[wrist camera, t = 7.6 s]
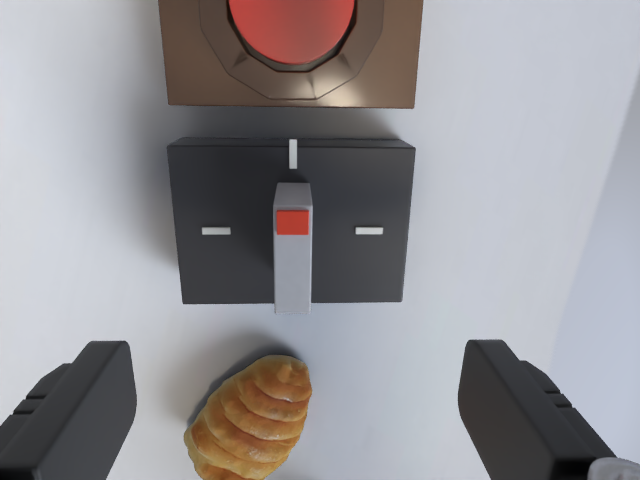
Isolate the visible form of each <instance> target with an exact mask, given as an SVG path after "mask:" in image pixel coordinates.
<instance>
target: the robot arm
mask: <svg viewBox="0 0 640 480" xmlns="http://www.w3.org/2000/svg"><path fill="white" fill-rule="evenodd" d="M136 405H137V395H136V388H135V381H134V374H133V367H132V359H131V352H130V347H129V344H128V343H127V342H126V341H91V342H89V343H88V344H87V345H86V346H85V348H84V349H83V350H82V351H81V353H80V354H79V355H78V356H77V358H76V359H75V360H74V361H73V363H68V364H62V365H61V366H59V367H58V368H56V369H55V370H53V371H52V372H50V373H49V374H47V375H46V376H44V377H43V378H41V379H40V381H39V382H38V383H37V384H36V385H35V386H34V388H33V389H32V390H31V391H30V392H29V393H28V395H27V396H26V400H22V402H21V403H20V404H19V405H18V406H17V407H16V408H15V410H14V412H13V415H9V417H8V418H7V419H6V420H5V421H4V422H3V424H2V425H1V426H0V480H106V478H107V476H108V474H109V472H110V470H111V468H112V466H113V463H114V461H115V459H116V457H117V455H118V453H119V451H120V449H121V447H122V445H123V443H124V440H125V438H126V436H127V434H128V432H129V430H130V428H131V426H132V423H133V421H134V417H135V413H136ZM458 406H459V412H460V416H461V419H462V421H463V423H464V425H465V427H466V429H467V431H468V433H469V435H470V437H471V439H472V441H473V444H474V446H475V448H476V450H477V452H478V454H479V456H480V458H481V460H482V462H483V464H484V466H485V468H486V470H487V472H488V474H489V476H490V478H491V480H640V464H638V463H635V462H632V461H629V460H625V459H621V458H617V457H616V455H615V454H614V453H613V452H612V451H611V449H610V448H609V447H608V446H607V445H606V444H605V442H604V441H603V440H602V439H601V438H600V437H599V435H598V434H597V433H596V432H595V431H594V430H593V428H592V427H591V426H590V425H589V424H588V423H587V421H586V420H585V419H584V418H583V417H582V416H581V414H580V413H579V412H578V411H577V410H576V409H575V408H572V404H571V403H570V401H569V400H568V399H567V398H566V397H565V396H564V394H561V393H560V390H559V389H558V388H557V386H556V385H555V384H554V383H553V382H552V380H551V379H550V378H549V377H548V376H547V375H546V374H545V373H544V372H542V371H541V370H539V369H538V368H536V367H535V366H533V365H532V364H530V363H529V362H527V361H519V359H518V358H517V357H516V356H515V354H514V353H513V352H512V351H511V349H510V348H509V347H508V346H507V344H506V343H505V342H504V341H503V340H469V341H468V342H467V344H466V347H465V353H464V359H463V365H462V371H461V377H460V384H459V390H458Z"/></svg>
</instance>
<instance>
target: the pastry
mask: <svg viewBox="0 0 640 480" xmlns="http://www.w3.org/2000/svg"><path fill="white" fill-rule="evenodd" d="M311 395H312V387H311V383H310V379H309V371H308V368H307V366H306V364H305V363H303V362H301V361H299V360H298V359H296V358H294V357H291V356H286V355H267V356H265V357H263V358H260V359H257V360H256V361H255V362H254V363H253V364H251V365H249V366H247V368H246V369H244V370H242V371H240V372H238V373H236V374H235V375H233V376H231V377H229V378H228V379H226V380H224V381H223V383H222V385H221V386H220V387H219V388H218V389H217V390H215V391H214V392H213V393H212V394H211V395H210V396H209V398H208V399H207V404H206V405H205V406H204V408H203V409H202V410H201V411H200V412H199V414H198V416H197V417H196V419H195V421H194V422H193V423H192V424H191V425H190V426H189V427H188V428H187V430H186V431H185V433H184V442H185V445H186V446H187V448H188V454H189V457H190V458H191V460H192V461H193V463H194V468H195V471H196V472H197V473H198V475H199V476H200V477H201V478H202V479H203V480H263V479H264V478H265V477H267V476H268V475H269V474H270V473H272V472H273V471H275V469H277V468H278V467H279V466H280V465H281V464H282V463H283V462H284V461H286V459H287V457H288V455H289V453H290V452H291V449H292V448H293V447H294V446H295V444H296V443H297V441H298V440H299V438H300V434H301V432H302V430H303V427H304V421H305V419H306V416H307V408H308V402H309V399H310V397H311Z"/></svg>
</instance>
